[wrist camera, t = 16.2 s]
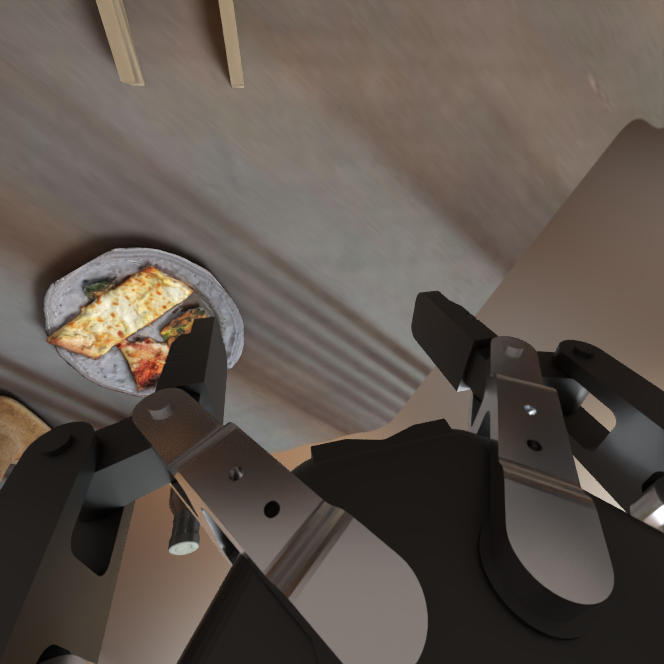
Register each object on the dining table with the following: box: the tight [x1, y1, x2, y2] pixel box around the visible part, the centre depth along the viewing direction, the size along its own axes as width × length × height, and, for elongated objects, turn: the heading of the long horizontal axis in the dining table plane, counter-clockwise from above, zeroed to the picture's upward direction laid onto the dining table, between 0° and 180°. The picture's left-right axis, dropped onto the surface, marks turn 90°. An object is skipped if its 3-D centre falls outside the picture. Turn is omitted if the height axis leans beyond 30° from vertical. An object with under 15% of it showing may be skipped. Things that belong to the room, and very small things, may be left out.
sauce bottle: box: [168, 487, 200, 555], centre depth 50 cm, size 6×6×20 cm
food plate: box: [43, 247, 244, 397], centre depth 43 cm, size 25×23×4 cm
